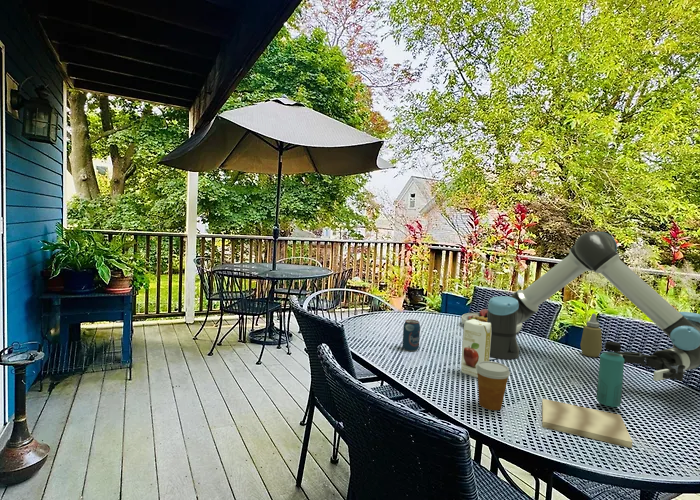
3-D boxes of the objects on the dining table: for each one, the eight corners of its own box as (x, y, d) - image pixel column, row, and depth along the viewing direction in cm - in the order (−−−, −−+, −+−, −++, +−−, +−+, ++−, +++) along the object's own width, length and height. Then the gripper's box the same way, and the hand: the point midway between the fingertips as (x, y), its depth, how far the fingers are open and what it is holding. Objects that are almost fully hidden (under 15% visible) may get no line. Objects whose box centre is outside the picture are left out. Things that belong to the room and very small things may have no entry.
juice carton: (468, 367, 149) (472, 317, 148) (490, 374, 143) (494, 322, 142) (458, 372, 144) (461, 320, 143) (480, 380, 138) (484, 326, 137)
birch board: (542, 426, 107) (542, 421, 107) (542, 403, 122) (542, 398, 122) (631, 447, 99) (632, 442, 99) (620, 420, 113) (620, 414, 113)
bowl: (531, 338, 194) (533, 322, 194) (470, 335, 195) (471, 319, 194) (508, 322, 224) (509, 308, 224) (454, 320, 225) (455, 306, 224)
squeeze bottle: (598, 353, 174) (602, 313, 173) (603, 359, 166) (607, 317, 165) (577, 351, 177) (581, 310, 175) (581, 356, 169) (585, 314, 168)
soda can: (411, 353, 163) (413, 324, 162) (398, 348, 169) (400, 320, 168) (422, 350, 168) (423, 321, 167) (409, 345, 173) (411, 318, 172)
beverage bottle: (624, 413, 117) (631, 347, 116) (599, 410, 119) (606, 344, 117) (614, 403, 124) (621, 340, 122) (591, 400, 125) (597, 338, 124)
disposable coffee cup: (468, 398, 123) (471, 360, 122) (498, 398, 124) (501, 360, 123) (481, 413, 114) (484, 372, 113) (513, 413, 114) (516, 372, 113)
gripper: (714, 386, 122) (675, 396, 114) (629, 359, 145) (591, 365, 136) (717, 362, 122) (678, 370, 113) (631, 339, 144) (593, 344, 136)
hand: (630, 368), depth 125 cm, fingers open, 13 cm apart
